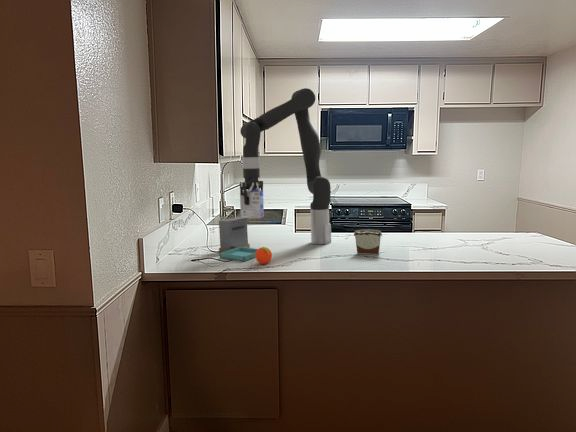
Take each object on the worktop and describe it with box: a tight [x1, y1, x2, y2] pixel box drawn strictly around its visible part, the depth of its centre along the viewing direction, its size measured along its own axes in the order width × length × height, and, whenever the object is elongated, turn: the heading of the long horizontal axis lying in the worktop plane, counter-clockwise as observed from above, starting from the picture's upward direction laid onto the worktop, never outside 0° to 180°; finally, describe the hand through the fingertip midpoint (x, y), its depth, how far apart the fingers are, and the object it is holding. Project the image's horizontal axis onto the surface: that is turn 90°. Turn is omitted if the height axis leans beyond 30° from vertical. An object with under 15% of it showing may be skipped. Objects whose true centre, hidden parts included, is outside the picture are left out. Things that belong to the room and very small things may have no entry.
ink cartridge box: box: [239, 188, 265, 219], centre depth 187 cm, size 10×6×14 cm, turn 77°
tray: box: [219, 247, 259, 262], centre depth 183 cm, size 14×14×2 cm
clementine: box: [255, 246, 273, 265], centre depth 168 cm, size 8×7×7 cm
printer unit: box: [218, 216, 251, 253], centre depth 195 cm, size 7×14×15 cm, turn 145°
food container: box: [353, 228, 383, 256], centre depth 181 cm, size 12×6×10 cm, turn 71°
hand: (252, 204), depth 187 cm, fingers closed on ink cartridge box, 6 cm apart
